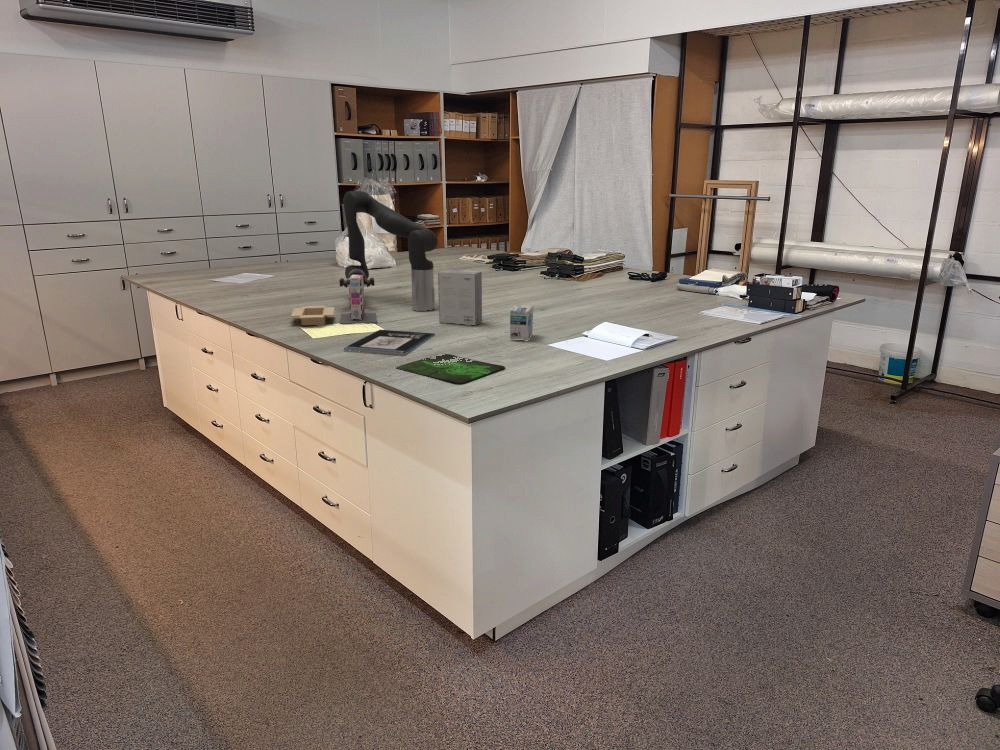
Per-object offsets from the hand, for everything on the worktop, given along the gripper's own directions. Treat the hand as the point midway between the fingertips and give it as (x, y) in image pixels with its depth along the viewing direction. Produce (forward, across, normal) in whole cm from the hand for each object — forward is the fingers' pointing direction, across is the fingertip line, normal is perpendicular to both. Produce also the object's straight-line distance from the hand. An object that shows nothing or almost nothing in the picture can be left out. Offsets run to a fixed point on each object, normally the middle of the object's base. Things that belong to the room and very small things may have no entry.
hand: (357, 284), depth 277 cm
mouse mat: (+87, +27, +12) cm, 92 cm away
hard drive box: (+26, +39, +12) cm, 48 cm away
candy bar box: (+12, 0, +11) cm, 17 cm away
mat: (+13, 0, +12) cm, 17 cm away
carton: (+15, -17, +12) cm, 25 cm away
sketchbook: (+53, +11, +12) cm, 55 cm away
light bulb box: (+53, +57, +12) cm, 78 cm away
